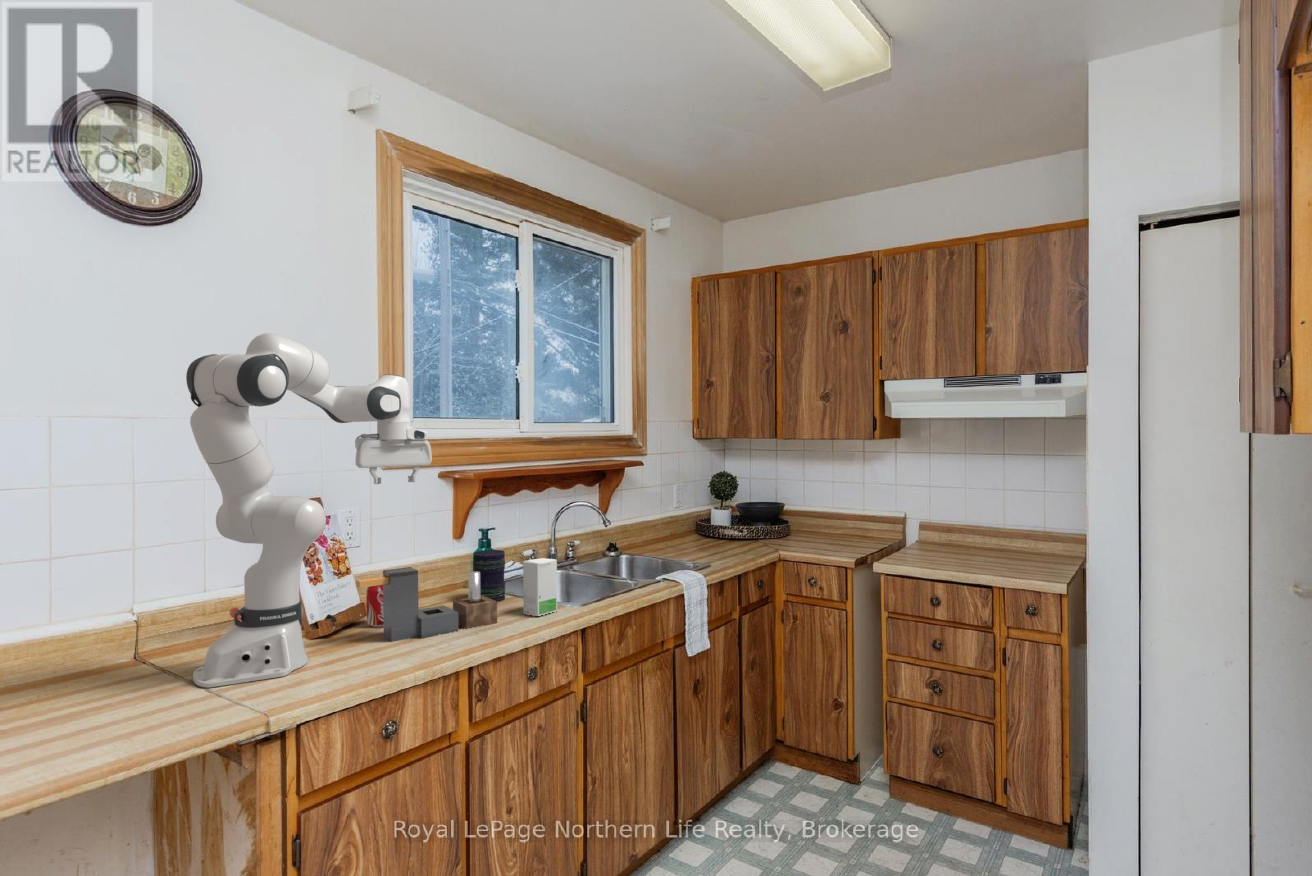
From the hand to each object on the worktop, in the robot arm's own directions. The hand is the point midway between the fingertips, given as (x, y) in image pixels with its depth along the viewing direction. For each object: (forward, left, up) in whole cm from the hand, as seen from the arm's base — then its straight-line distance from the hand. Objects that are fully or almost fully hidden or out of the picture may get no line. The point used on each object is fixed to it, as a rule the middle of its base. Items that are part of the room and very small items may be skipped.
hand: (394, 483), depth 195 cm
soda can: (-4, +1, -39) cm, 40 cm away
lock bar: (-7, -14, -25) cm, 29 cm away
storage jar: (+32, +8, -39) cm, 51 cm away
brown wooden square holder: (+17, -14, -39) cm, 45 cm away
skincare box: (+36, -17, -39) cm, 56 cm away
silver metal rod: (+17, -14, -39) cm, 45 cm away
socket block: (+1, -14, -39) cm, 42 cm away
